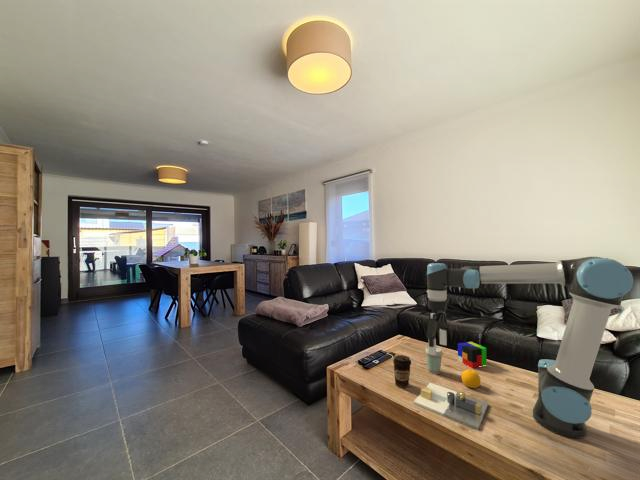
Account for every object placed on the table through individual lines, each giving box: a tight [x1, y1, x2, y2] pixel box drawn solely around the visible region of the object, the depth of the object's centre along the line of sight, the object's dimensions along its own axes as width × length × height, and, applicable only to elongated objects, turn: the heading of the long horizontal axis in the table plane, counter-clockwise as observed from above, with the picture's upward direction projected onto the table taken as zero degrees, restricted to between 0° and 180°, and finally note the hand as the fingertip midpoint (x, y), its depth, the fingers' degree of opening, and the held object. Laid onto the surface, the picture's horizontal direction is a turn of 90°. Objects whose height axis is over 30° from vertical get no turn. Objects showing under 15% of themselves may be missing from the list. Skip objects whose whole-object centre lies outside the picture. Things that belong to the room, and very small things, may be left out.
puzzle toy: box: [457, 341, 488, 369], centre depth 150 cm, size 10×10×10 cm
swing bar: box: [456, 391, 482, 414], centre depth 107 cm, size 9×3×5 cm, turn 49°
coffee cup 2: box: [425, 346, 444, 375], centre depth 140 cm, size 8×8×12 cm
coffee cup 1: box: [392, 354, 412, 389], centre depth 127 cm, size 9×8×13 cm
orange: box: [461, 368, 482, 389], centre depth 126 cm, size 8×8×8 cm
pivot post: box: [447, 392, 455, 404], centre depth 112 cm, size 3×3×4 cm
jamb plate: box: [443, 391, 489, 431], centre depth 108 cm, size 12×20×1 cm, turn 139°
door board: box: [413, 382, 458, 417], centre depth 116 cm, size 12×20×4 cm, turn 139°
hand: (437, 349), depth 113 cm, fingers open, 13 cm apart
